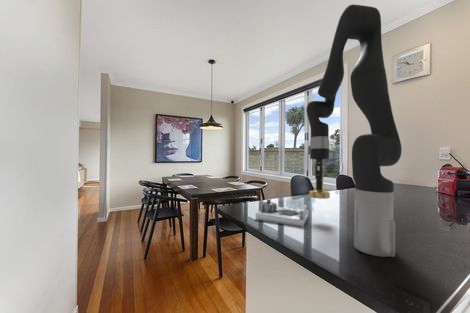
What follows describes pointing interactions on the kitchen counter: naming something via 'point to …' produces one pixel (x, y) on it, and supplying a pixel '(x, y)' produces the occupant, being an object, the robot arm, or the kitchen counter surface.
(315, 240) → the kitchen counter surface
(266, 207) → the carrier
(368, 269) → the kitchen counter surface
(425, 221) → the kitchen counter surface
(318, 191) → the planet gear
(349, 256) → the kitchen counter surface
